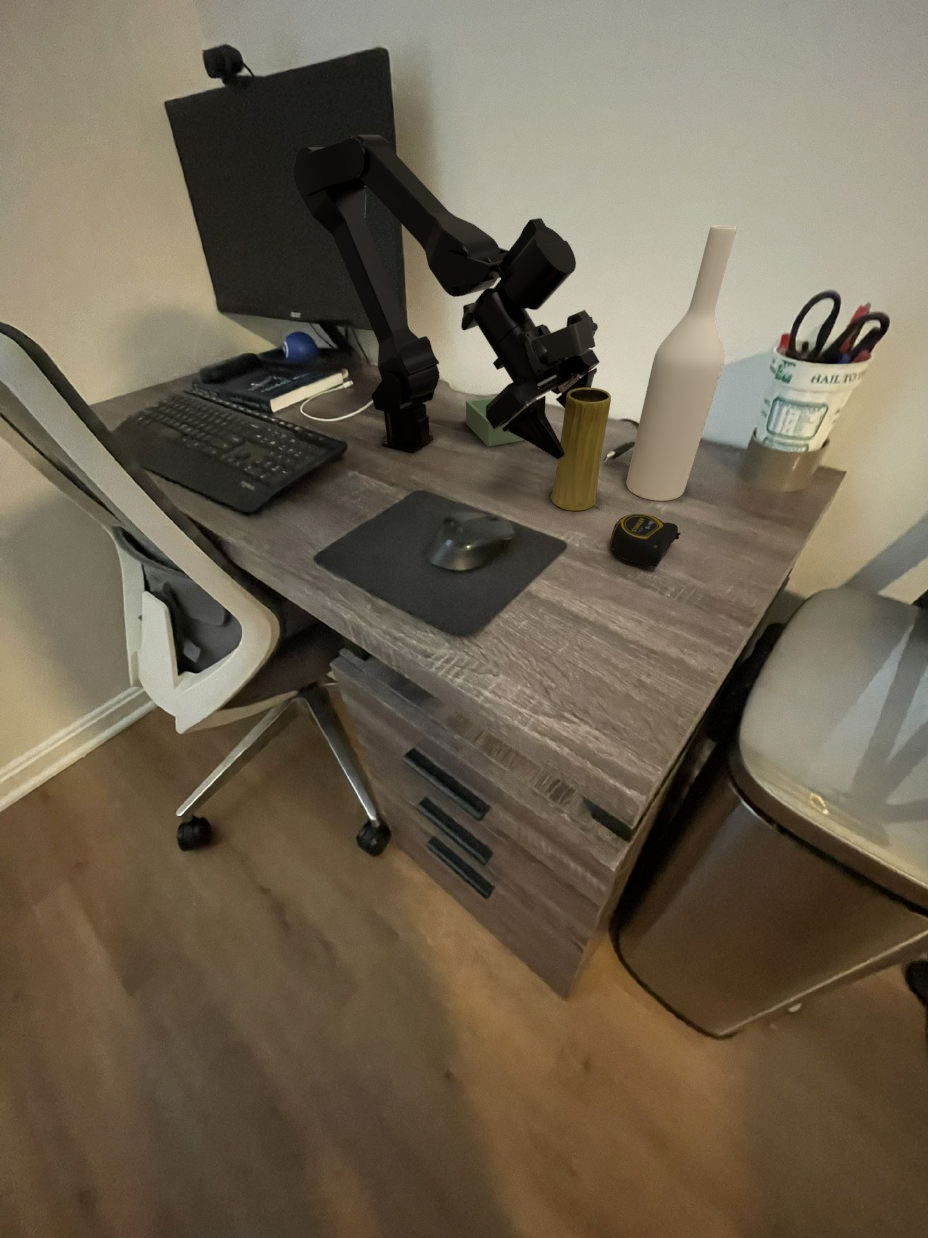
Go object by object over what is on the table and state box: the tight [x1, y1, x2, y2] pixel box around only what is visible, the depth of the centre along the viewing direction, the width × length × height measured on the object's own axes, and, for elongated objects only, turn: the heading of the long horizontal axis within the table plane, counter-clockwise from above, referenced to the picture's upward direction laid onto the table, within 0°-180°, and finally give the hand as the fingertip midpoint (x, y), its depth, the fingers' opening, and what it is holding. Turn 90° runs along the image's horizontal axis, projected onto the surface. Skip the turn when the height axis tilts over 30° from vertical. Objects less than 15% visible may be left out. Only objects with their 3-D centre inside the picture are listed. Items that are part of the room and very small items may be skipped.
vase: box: [550, 387, 612, 512], centre depth 67 cm, size 6×6×14 cm
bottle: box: [625, 224, 738, 502], centre depth 64 cm, size 8×8×30 cm
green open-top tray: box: [465, 396, 547, 447], centre depth 88 cm, size 10×10×4 cm
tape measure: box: [610, 513, 682, 567], centre depth 61 cm, size 7×7×4 cm
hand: (579, 444), depth 66 cm, fingers open, 9 cm apart
